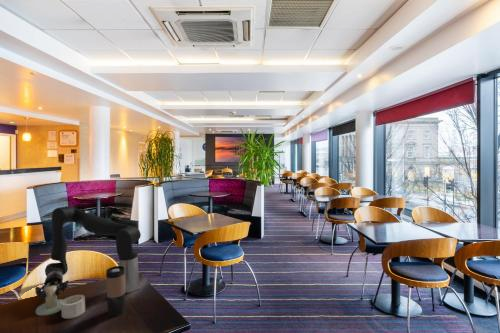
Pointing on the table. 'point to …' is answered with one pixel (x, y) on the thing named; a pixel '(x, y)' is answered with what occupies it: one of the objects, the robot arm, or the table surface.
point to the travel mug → (115, 290)
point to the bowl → (73, 306)
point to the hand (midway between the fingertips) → (50, 294)
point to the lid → (50, 302)
